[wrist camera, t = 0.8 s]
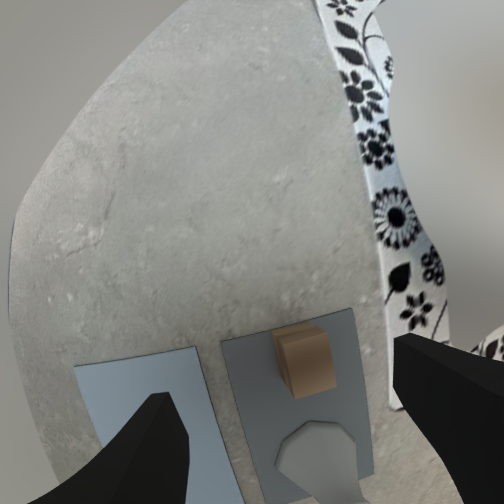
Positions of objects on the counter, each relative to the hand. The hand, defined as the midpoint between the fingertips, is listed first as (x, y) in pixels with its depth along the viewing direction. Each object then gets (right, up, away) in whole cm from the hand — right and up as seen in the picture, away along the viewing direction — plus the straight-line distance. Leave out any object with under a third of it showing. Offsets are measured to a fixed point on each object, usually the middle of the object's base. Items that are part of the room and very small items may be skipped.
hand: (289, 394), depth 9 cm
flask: (+5, -14, +15) cm, 21 cm away
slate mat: (-9, -13, +14) cm, 21 cm away
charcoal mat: (+4, -10, +16) cm, 19 cm away
